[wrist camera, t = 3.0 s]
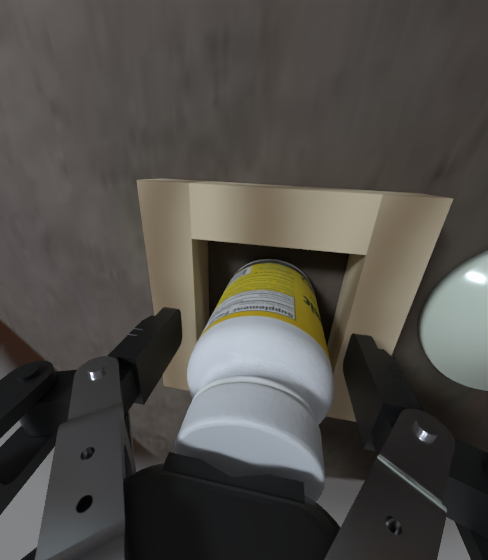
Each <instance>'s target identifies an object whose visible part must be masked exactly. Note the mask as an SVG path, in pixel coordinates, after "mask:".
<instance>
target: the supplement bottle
mask: <svg viewBox="0 0 488 560" xmlns="http://www.w3.org/2000/svg"><path fill="white" fill-rule="evenodd" d="M187 382H188V387H189V391H190V394H191V397H192V399H193V400H192V403H191V405H190V407H189V409H188V411H187V414H186V416H185V419H184V421H183V424H182V426H181V428H180V431H179V433H178V436H177V438H176V441H175V444H174V453H176V454H180V455H185V456H189V457H194V458H198V459H201V460H203V461H205V462H206V463H208V464H210V465H212V466H213V467H215V468H217V469H219V470H220V471H222V472H224V473H225V474H227V475H229V476H232V477H241V476H253V475H266V474H270V475H274V476H279V477H283V478H288V479H292V480H297V481H301V482H304V495H305V496H307V497H309V498H310V499H312V500H313V501H315V502H316V501H317V500H318V498H319V497H320V495H321V494H322V491H323V489H324V484H325V470H324V461H323V452H322V440H321V432H320V429H319V424H320V423H321V422H322V420H323V419H324V418H325V417H326V415H327V413H328V412H329V409H330V407H331V404H332V400H333V395H334V379H333V373H332V367H331V362H330V358H329V354H328V349H327V345H326V341H325V337H324V332H323V327H322V322H321V319H320V314H319V310H318V306H317V301H316V297H315V293H314V290H313V287H312V285H311V283H310V281H309V279H308V278H307V276H306V275H305V274H304V273H303V272H302V271H301V270H300V269H298V268H297V267H295V266H294V265H292V264H290V263H288V262H285V261H281V260H277V259H261V260H256V261H253V262H250V263H248V264H246V265H245V266H243V267H242V268H240V269H239V270H238V271H237V272H236V273H235V275H234V276H233V277H232V279H231V280H230V282H229V284H228V285H227V287H226V289H225V291H224V293H223V295H222V297H221V299H220V300H219V302H218V304H217V306H216V308H215V310H214V312H213V314H212V315H211V317H210V319H209V321H208V323H207V325H206V327H205V328H204V330H203V332H202V334H201V336H200V338H199V340H198V341H197V343H196V345H195V347H194V350H193V352H192V354H191V356H190V360H189V363H188V368H187Z"/></svg>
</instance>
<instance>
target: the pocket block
mask: <svg viewBox="0 0 488 560" xmlns="http://www.w3.org/2000/svg"><path fill="white" fill-rule="evenodd" d="M137 188H138V195H139V203H140V210H141V218H142V225H143V233H144V240H145V248H146V255H147V262H148V270H149V277H150V285H151V292H152V300H153V307H154V315H156V314H157V313H158V312H159V311H160V310H161V309H162V308H163V307H168V308H176V309H180V311H181V320H182V334H183V337H182V342H181V345H180V348H179V349H178V351H177V352H176V354H175V356H174V357H173V359H172V360H171V362H170V364H169V365H168V367H167V368H166V370H165V372H164V373H163V382H164V386H167V387H172V388H177V389H183V390H188V391H189V387H188V382H187V368H188V363H189V360H190V356H191V354H192V352H193V350H194V347H195V345H196V343H197V341H198V340H199V338H200V336H201V334H202V332H203V330H204V328H205V327H206V325H207V323H208V321H209V272H208V240H210V241H221V242H232V243H242V244H253V245H264V246H274V247H285V248H296V249H306V250H317V251H328V252H338V253H349V258H348V262H347V266H346V270H345V275H344V279H343V283H342V287H341V291H340V295H339V299H338V303H337V308H336V312H335V316H334V320H333V324H332V328H331V332H330V336H329V341H328V345H327V349H328V354H329V358H330V362H331V367H332V373H333V379H334V395H333V400H332V404H331V407H330V409H329V412H328V413H327V415H326V416H327V417H332V418H338V419H343V420H348V421H354V422H356V419H355V415H354V411H353V408H352V404H351V400H350V396H349V393H348V389H347V385H346V382H345V378H344V374H343V360H344V357H345V353H346V350H347V346H348V343H349V340H350V336H351V335H352V334H353V333H355V334H362V335H369V336H372V337H373V339H374V341H375V343H376V345H377V347H378V349H384V350H385V351H386V352H387V353H389V354H390V355H391V356H392V353H393V351H394V348H395V345H396V343H397V340H398V338H399V335H400V333H401V330H402V328H403V325H404V323H405V320H406V318H407V315H408V312H409V310H410V307H411V305H412V302H413V300H414V297H415V295H416V292H417V290H418V287H419V285H420V282H421V279H422V277H423V274H424V272H425V269H426V267H427V264H428V262H429V259H430V257H431V254H432V252H433V249H434V246H435V244H436V241H437V239H438V236H439V234H440V231H441V229H442V226H443V224H444V221H445V219H446V216H447V213H448V211H449V208H450V206H451V203H452V201H453V199H452V198H446V197H440V196H434V195H428V194H422V193H406V192H388V191H371V190H353V189H336V188H319V187H301V186H284V185H267V184H249V183H232V182H215V181H197V180H180V179H144V180H137Z"/></svg>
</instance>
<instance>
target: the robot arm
mask: <svg viewBox="0 0 488 560" xmlns="http://www.w3.org/2000/svg"><path fill="white" fill-rule="evenodd" d="M182 337H183V334H182V320H181V311H180V309H176V308H168V307H163V308H162V309H161V310H160V311H159V312H158V313H157V314H156V315H155V316H150V317H148V318H146V319H144V320H143V321H141V322H140V323H139V324H138V325H137V326H136V327H135V329H133V330H132V331H131V332H130V333H129V335H127V336H126V337H125V339H124V340H123V341H122V342H121V343H120V344H119V345H118V346H117V347H116V348H115V349H114V350H113V351H112V352H111V353H110V354H109V355H108V356H101V357H97V358H94V359H91V360H89V361H87V362H85V363H84V364H83V365H81V366H80V367H79V368H78V369H77V370H69V371H58V372H55V370H54V367H53V365H52V363H50V362H48V361H35V362H31V363H28V364H25V365H23V366H20V367H19V368H17V369H15V370H13V371H12V372H10V373H9V374H8V375H6V376H5V377H4V378H2V379H1V380H0V438H1V437H2V436H3V435H4V434H5V433H6V432H7V431H8V430H9V429H10V428H11V427H12V426H13V425H14V424H16V422H18V420H19V421H20V423H21V424H22V426H21V427H20V428H19V429H18V430H17V431H16V432H15V433H14V434H13V435H12V436H11V437H10V438H9V439H8V440H7V441H6V442H5V443H4V444H3V445H2V446H1V447H0V515H1V513H2V512H3V511H4V509H5V508H6V507H7V506H8V505H9V503H10V502H11V501H12V500H13V498H14V497H15V496H16V494H17V493H18V492H19V490H20V489H21V488H22V487H23V485H24V484H25V483H26V482H27V480H28V479H29V478H30V477H31V476H32V474H33V473H34V472H35V470H36V469H37V468H38V467H39V465H40V464H41V463H42V462H43V460H44V459H45V458H46V457H47V455H48V454H49V453H50V451H51V450H52V449H53V448H54V447H55V450H54V455H53V461H52V466H51V472H50V478H49V483H48V489H47V495H46V500H45V506H44V511H43V517H42V522H41V528H40V534H39V539H38V545H37V547H36V548H35V549H34V550H33V551H31V552H30V553H29V554H27V555H26V556H25V557H23V558H22V559H21V560H437V557H438V552H439V548H440V543H441V538H442V534H443V529H444V525H445V520H446V517H448V518H450V519H452V520H454V521H455V523H456V526H457V528H458V530H459V532H460V535H461V537H462V539H463V542H464V544H465V546H466V549H467V551H468V554H469V556H470V558H471V560H488V453H486V452H484V451H481V450H479V449H477V448H474V447H472V446H470V445H467V444H465V443H463V442H460V441H458V440H456V439H454V438H453V436H452V434H451V433H450V431H449V430H448V429H447V428H446V427H445V426H444V425H443V424H442V423H441V422H440V421H439V420H437V419H436V418H435V417H433V416H432V415H430V414H428V413H426V412H424V411H423V409H422V407H421V405H420V404H419V402H418V400H417V398H416V396H415V395H414V393H413V391H412V389H411V388H410V386H409V384H408V382H407V381H406V379H405V377H404V375H403V374H402V372H401V371H400V368H399V366H398V365H397V363H396V361H395V359H394V358H393V357H392V356H391V355H390V354H389V353H387V352H386V351H385V350H384V349H378V347H377V345H376V343H375V341H374V339H373V337H372V336H369V335H362V334H355V333H353V334H352V335H351V336H350V340H349V343H348V346H347V350H346V353H345V357H344V360H343V374H344V378H345V382H346V385H347V389H348V393H349V396H350V400H351V404H352V408H353V411H354V415H355V419H356V422H357V426H358V430H359V433H360V437H361V441H362V444H363V448H364V449H366V450H371V451H376V454H377V459H376V460H375V462H374V464H373V466H372V468H371V470H370V472H369V474H368V476H367V478H366V480H365V482H364V484H363V486H362V488H361V490H360V491H359V493H358V495H357V497H356V499H355V501H354V503H353V505H352V507H351V509H350V511H349V513H348V515H347V517H346V519H345V521H344V522H343V524H342V526H341V528H340V527H339V526H338V524H337V522H336V521H335V520H334V519H333V518H332V517H331V516H330V515H329V514H328V513H327V512H326V511H325V510H324V509H323V508H322V507H321V506H320V505H318V504H317V503H316V502H315V501H313V500H312V499H310V498H309V497H307V496H305V495H304V482H301V481H297V480H292V479H288V478H283V477H279V476H274V475H270V474H266V475H253V476H241V477H232V476H229V475H227V474H225V473H224V472H222V471H220V470H219V469H217V468H215V467H213V466H212V465H210V464H208V463H206V462H205V461H203V460H201V459H198V458H194V457H189V456H185V455H180V454H176V453H171V452H169V454H168V456H167V458H166V461H165V463H164V464H158V465H153V466H150V467H147V468H145V469H142V470H140V471H138V472H136V467H135V461H134V452H133V441H132V431H131V421H130V412H129V409H130V408H131V406H132V405H133V403H138V404H143V405H144V404H145V402H146V401H147V399H148V397H149V396H150V394H151V393H152V391H153V389H154V388H155V386H156V385H157V383H158V381H159V380H160V378H161V376H162V375H163V373H164V372H165V370H166V368H167V367H168V365H169V364H170V362H171V360H172V359H173V357H174V356H175V354H176V352H177V351H178V349H179V348H180V345H181V342H182Z"/></svg>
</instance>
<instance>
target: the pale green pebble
mask: <svg viewBox="0 0 488 560" xmlns="http://www.w3.org/2000/svg"><path fill="white" fill-rule="evenodd" d="M417 334H418V339H419V342H420V345H421V347H422V349H423V351H424V352H425V354H426V355H427V357H428V358H429V359H430V361H431V362H432V363H433V365H434V366H435V367H436V368H437V369H438V370H439V371H440V372H441V373H442V374H444V375H445V376H446V377H448V378H450V379H451V380H453V381H455V382H457V383H460V384H462V385H465V386H468V387H471V388H475V389H480V390H486V391H488V250H486V251H484V252H482V253H480V254H478V255H476V256H474V257H472V258H470V259H468V260H467V261H465V262H463V263H462V264H460V265H459V266H457V267H456V268H455V269H453V270H452V271H451V272H449V273H448V274H447V275H446V276H445V277H444V278H443V279H442V280H441V281H440V282H439V283H438V284H437V285H436V286H435V287H434V288H433V290H432V291H431V292H430V294H429V295H428V297H427V298H426V300H425V302H424V304H423V306H422V308H421V311H420V314H419V317H418V323H417Z"/></svg>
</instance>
